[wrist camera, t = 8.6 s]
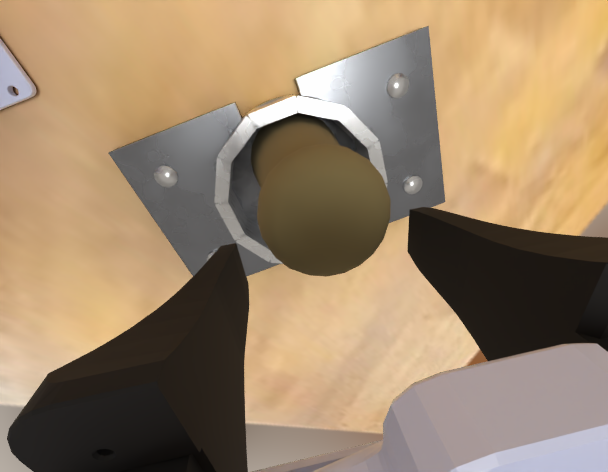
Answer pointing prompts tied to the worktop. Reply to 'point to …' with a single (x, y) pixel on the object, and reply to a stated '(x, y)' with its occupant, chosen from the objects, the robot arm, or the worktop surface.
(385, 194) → the olive brown pawn
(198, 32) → the worktop surface
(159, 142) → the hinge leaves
